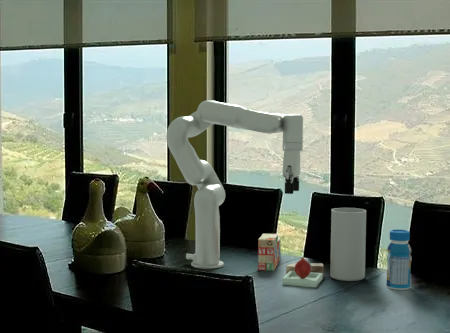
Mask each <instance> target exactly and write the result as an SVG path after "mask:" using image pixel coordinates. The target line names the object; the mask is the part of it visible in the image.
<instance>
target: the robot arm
mask: <svg viewBox="0 0 450 333" xmlns="http://www.w3.org/2000/svg"><path fill="white" fill-rule="evenodd" d="M214 125H219V126H226V127H229V128H235V129H242V130H246V131H252V132H257V133H262V134H269V135H272V134H278V133H282V151H283V158H282V160H283V161H282V175H281V176H282V177H283V178H284V179H285V180H284V194H287V195H292V194H294V192H299V191H300V174H301V152H303V148H304V147H303V142H304V141H303V140H304V136H303V135H304V117H303V115H302V114H299V113H298V114H297V113H288V114H287V113H285V114H283V113H282V114H281V113H277V112H276V113H273V112H271V113H269V112H265V111H264V112H263V111H257V110H252V109H247V108H246V107H244V106H241V105H238V104H230V103H226V102H220V101H216V100H210V99H209V100H204V101H201V103H199V105H198V107H197V109H196V111H194V112H192V113H191V114H190V115H187V116H178V117H176V118H175V119H174V120H172V121H171V122H170V124H169V125H168V127H167V129H166V135H165V136H166V137H165V138H166V144H167V147H168V149H169V151H170V153H171V154H172V156H173V158H174V160H175V162H176V164H177V166H178V169H179V170H180V172H181V174H182V176H183V178H184V180H185V181H186V182H187V184H189V185H191V186H196V187H197V190H196V192H195V194H194V198H193V204H194V216H195V221H194V222H195V253H193V254H192V253H186V254H185V259H186V260H192V262H191V263H190V264H191V267H193V268H196V269H204V270H210V269H213V270H214V269H218V268H219V269H220V268H222V267H224V264H225V263H224V261H222V260H220V256H221V252H220V251H221V250H220V245H221V244H220V242H221V241H220V240H221V237H220V236H221V234H220V233H221V228H220V227H221V223H220V222H221V221H220V219H221V216H220V209H219V207H220V206H221V205H222V204H223V203H224V202H225V199H226V190H225V189H224V186H223V184H222V182H221V181H220V179H219V177H218V175H217V173H216V172H215V170H214V167H213V166H212V165H211V163H209V162H208V161H206V160H203V159H200V158H199V156H198V153H197V152H196V150H195V148H194V147H193V146H192V144H191V143H190V141H189V138H194V137H196V136H197V137H198V135H200V134H202V133H203V132H204V131H206V130H207V129H209V128H210V127H212V126H214Z"/></svg>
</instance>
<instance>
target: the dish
mask: <svg viewBox="0 0 450 333" xmlns="http://www.w3.org/2000/svg"><path fill="white" fill-rule="evenodd" d="M323 279H324V274H323V273H313V272H310V274H309V275H308V276H307V277H306V278H305V279H301V278H300V277H299V276H298V275H297V274H296V273H295V271H289V272H288V273H287V274H286V273H285V275H283V277H282V285H283V286H292V287H293V286H294V287H305V288H318V286H319V285H320V283H321V282H322V281H323Z"/></svg>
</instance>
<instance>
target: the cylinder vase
mask: <svg viewBox="0 0 450 333" xmlns="http://www.w3.org/2000/svg"><path fill="white" fill-rule="evenodd" d="M330 220H331V222H330V225H331V226H330V231H331V232H330V274H329V275H330V277H331V278H332V279H334V280H337V281H342V282H343V281H344V282H358V281H361V280H363V279H365V276H366V242H367V241H366V239H367V238H366V237H367V210H366V209H364V208H356V207H338V208H337V207H335V208H331V217H330Z"/></svg>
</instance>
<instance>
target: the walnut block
mask: <svg viewBox="0 0 450 333" xmlns="http://www.w3.org/2000/svg"><path fill="white" fill-rule="evenodd" d="M309 264H310V267H311V272H313V273H323V275H324V271H325V270H324V267H325V266H324V264H323V263H321V262H319V263H317V262H316V263H315V262H314V263H313V262H312V263H311V262H310V263H309Z"/></svg>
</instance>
